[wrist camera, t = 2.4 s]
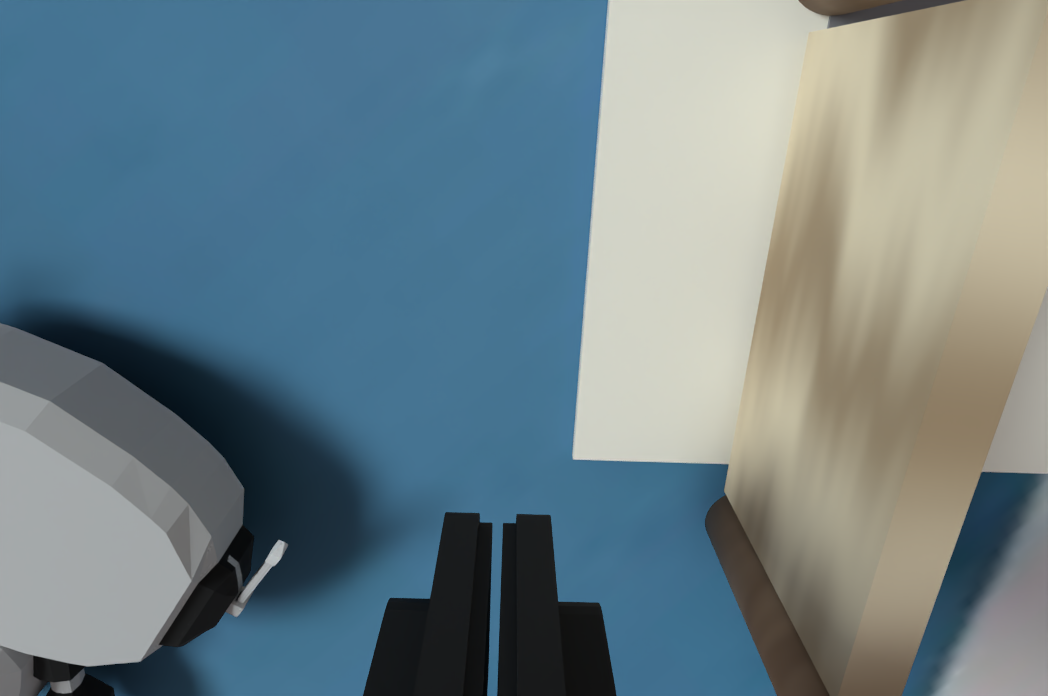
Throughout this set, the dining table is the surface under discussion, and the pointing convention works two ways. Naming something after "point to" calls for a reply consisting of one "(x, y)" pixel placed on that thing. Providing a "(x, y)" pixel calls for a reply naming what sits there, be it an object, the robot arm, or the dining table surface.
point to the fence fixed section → (842, 5)
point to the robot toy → (106, 523)
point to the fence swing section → (885, 334)
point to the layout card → (709, 230)
